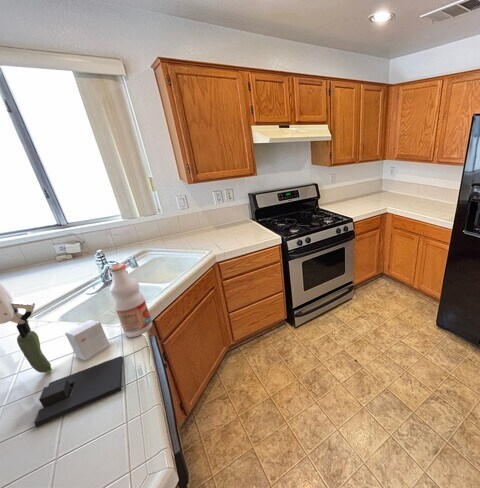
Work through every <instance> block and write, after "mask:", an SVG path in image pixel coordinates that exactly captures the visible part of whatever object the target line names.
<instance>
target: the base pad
mask: <svg viewBox="0 0 480 488" xmlns="http://www.w3.org/2000/svg"><path fill="white" fill-rule="evenodd" d="M123 365H124V358H123V356H122V355H119V356H117V357H114V358H111V359H109V360H106V361H103V362H101V363H98V364H95V365H93V366H91V367H87V368H85V369H82V370H80V371H76V372H74V373H72V374H69V375H65V376H63V377H61V378H58V379H55V380H53V381H50V382H49V383H48V386H49V385H52V384H55V383H57V382H60V381H62V380H65V379H67V380H68V382H69V384H70V386H71V388H72V391H71V394H70V397H69V398H66V399H64V400H62V401H59V402H57V403H54V404H52V405H49V406H47V407H44V408H43V407H42V408H40V409H38V412H37V415H36V417H35V420H34V422H33V424H34V425H35V427H36V428H38V427H41V426H43V425H45V424H47V423H50V422H52V421H54V420H56V419H59V418H61V417H64V416H66V415H68V414H71V413H72V412H75V411H77V410H79V409H82V408H84V407H86V406H89V405H91V404H93V403H95V402H96V403H97V402H98V401H100V400H102V399H105V398H107V397H110V396H112V395H114V394H117V393H118V392H120V391H122V386H123V385H122V384H123Z"/></svg>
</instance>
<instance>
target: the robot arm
mask: <svg viewBox="0 0 480 488" xmlns="http://www.w3.org/2000/svg"><path fill="white" fill-rule="evenodd" d="M35 306H36V303H34V302H24V301H14V299H13V297H12V296H11V294H10V293H9V291H8V290H7V289H6V288H5V287H4V285H3V284H2V283H1V282H0V325H3V324H7V323H9V322H11V323H15V324H17V325H16V329H17V332H18V334H20V335H21V337H22V338H25V337H27V335H28V333H29V332H30V331H32V329H31V326H30V324H29V322H27V320H28V319H29V318H30V317H31V315H32V314H33V313H34V309H35ZM19 309H21V310H22V309H23V310H24V309H25V312H24V313H20V312H19Z"/></svg>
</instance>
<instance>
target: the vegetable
mask: <svg viewBox="0 0 480 488" xmlns="http://www.w3.org/2000/svg"><path fill="white" fill-rule="evenodd" d="M29 321H30V320H28V319H27V322H28V323H29ZM16 342H17V343H16V344H17V345H18V347H19V349H20V352H22V354H23V355H24V357H25V359H26V360H27V361H28V364H29V365H30V366H31V367H32V369H34V370H35V372H37V373H40V374H46V373H47V374H49V373H51V372H52V371H53V369H52V364H51V363H50V362H49V360H48V358H47V357H46V356H45V355H44V353H43V351H42V349H41V343H40V338H39V335H38V333H37V332H36V331H34V330H31V331H30V332H29V333H28V335H27V337H25V338H22V337H21V335H20V333H18V335H17V337H16Z"/></svg>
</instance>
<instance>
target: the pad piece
mask: <svg viewBox="0 0 480 488" xmlns="http://www.w3.org/2000/svg"><path fill="white" fill-rule="evenodd" d="M72 390H73V387H72V388H71V386H70V384H69V382H68V380H67V379H65V380H62V381H60V382H57V383H55V384H52V385H49V384H48V385H46V386H45V387H43V389H42V391H41V394H40V396H39V398H38V400H39V403H40V405H41V406H42V408H44V407H47V406H49V405H52V404H54V403H57V402H59V401H62V400H64V399H66V398H69V397H71V393H72Z"/></svg>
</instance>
